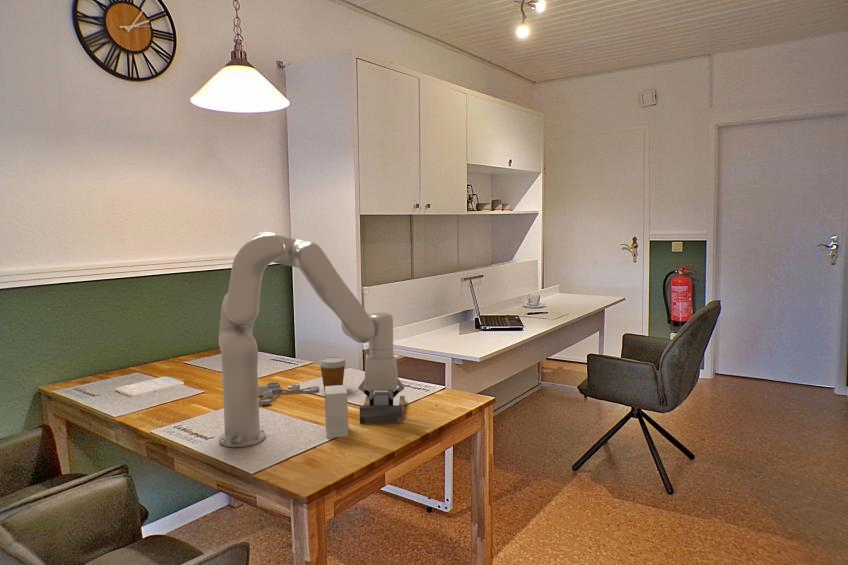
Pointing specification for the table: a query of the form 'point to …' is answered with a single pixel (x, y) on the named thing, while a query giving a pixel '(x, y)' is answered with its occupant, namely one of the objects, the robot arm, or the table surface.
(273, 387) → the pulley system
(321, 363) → the disposable coffee cup
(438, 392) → the table surface
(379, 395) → the block
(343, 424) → the small box
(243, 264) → the robot arm
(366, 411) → the guide channel
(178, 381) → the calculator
